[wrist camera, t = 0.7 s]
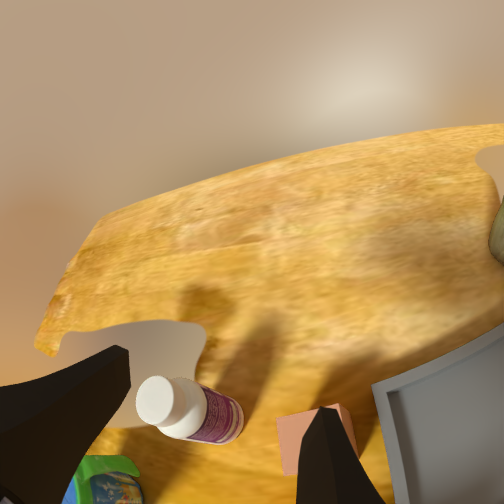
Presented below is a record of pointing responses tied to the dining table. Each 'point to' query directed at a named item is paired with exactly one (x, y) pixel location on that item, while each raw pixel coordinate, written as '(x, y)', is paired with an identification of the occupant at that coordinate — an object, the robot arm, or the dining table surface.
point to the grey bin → (447, 426)
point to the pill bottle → (189, 410)
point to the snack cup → (104, 481)
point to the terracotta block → (294, 430)
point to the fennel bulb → (498, 235)
